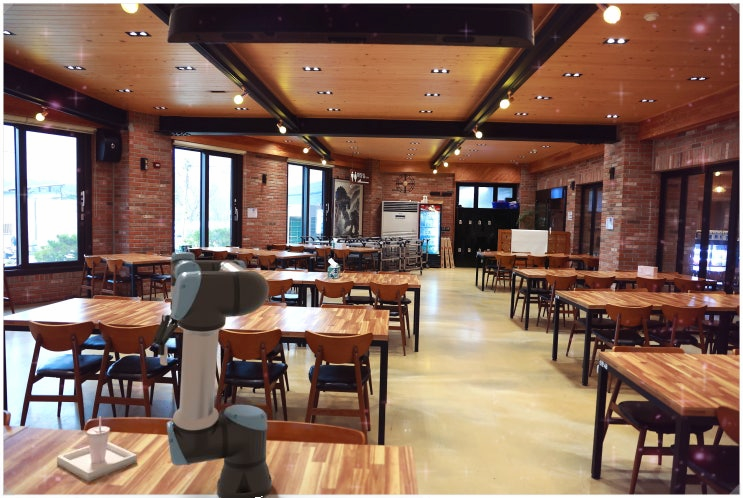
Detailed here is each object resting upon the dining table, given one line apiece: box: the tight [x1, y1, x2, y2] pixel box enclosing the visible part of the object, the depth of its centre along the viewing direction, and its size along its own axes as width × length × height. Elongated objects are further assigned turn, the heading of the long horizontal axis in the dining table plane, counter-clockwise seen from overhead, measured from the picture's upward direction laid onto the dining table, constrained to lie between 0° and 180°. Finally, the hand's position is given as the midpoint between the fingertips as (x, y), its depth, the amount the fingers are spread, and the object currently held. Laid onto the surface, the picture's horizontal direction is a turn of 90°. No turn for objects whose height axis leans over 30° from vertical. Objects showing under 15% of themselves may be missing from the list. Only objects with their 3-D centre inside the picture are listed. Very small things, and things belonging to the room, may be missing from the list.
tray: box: [56, 441, 138, 482], centre depth 159 cm, size 18×15×2 cm
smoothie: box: [86, 415, 111, 464], centre depth 158 cm, size 6×6×14 cm
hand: (181, 360), depth 173 cm, fingers open, 13 cm apart
